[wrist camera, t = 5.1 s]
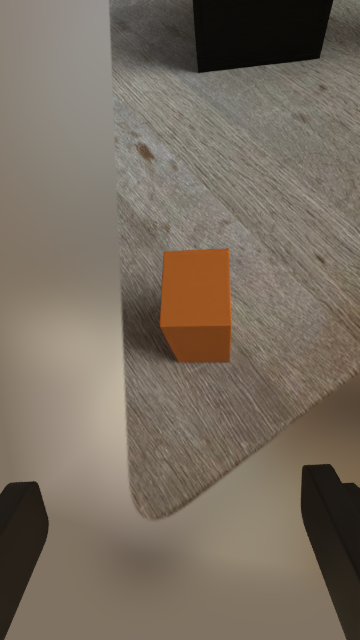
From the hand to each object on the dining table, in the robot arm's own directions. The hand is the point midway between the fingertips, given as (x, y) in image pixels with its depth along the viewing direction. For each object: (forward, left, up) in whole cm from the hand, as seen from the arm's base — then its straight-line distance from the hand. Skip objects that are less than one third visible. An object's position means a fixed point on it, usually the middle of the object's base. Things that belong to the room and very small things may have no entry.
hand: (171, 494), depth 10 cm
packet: (0, +10, -14) cm, 17 cm away
